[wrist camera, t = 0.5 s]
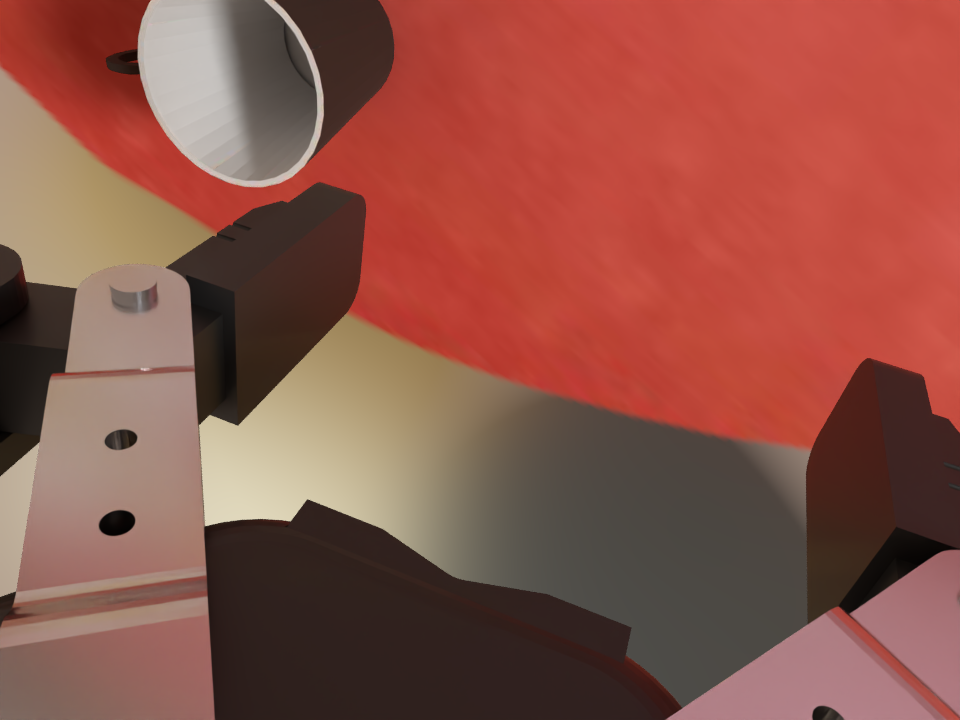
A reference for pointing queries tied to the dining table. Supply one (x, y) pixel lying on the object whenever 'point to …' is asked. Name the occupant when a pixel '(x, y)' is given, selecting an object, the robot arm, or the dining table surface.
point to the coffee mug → (258, 78)
